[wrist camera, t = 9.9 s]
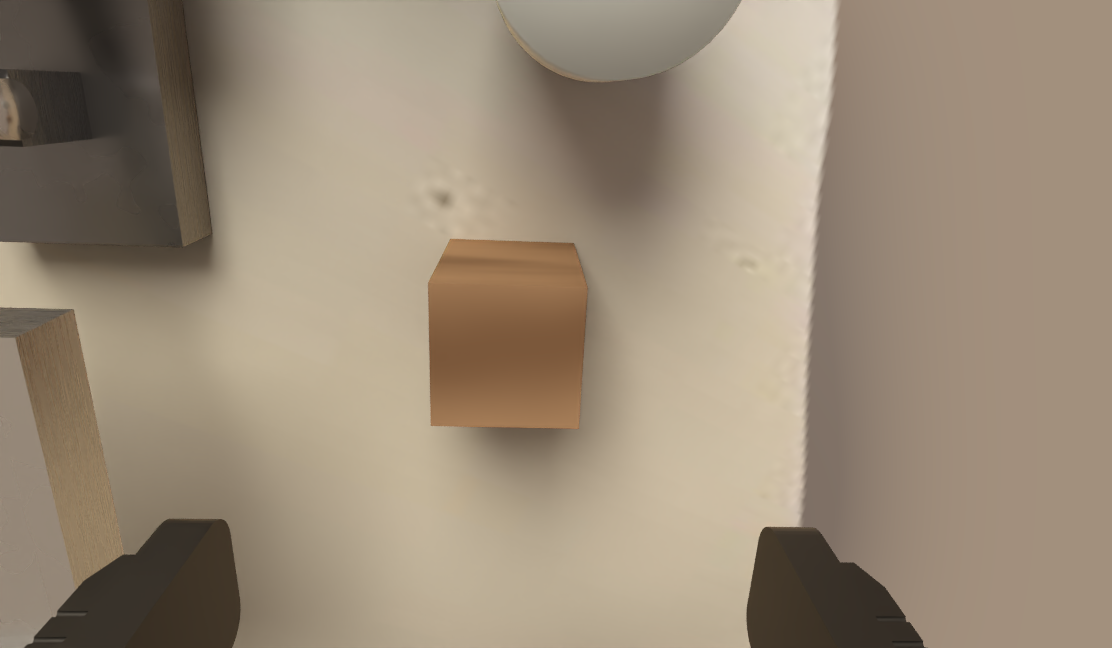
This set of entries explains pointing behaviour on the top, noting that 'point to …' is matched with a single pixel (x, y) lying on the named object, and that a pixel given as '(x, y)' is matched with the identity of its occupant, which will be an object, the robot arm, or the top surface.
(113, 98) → the balance
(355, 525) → the top surface
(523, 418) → the walnut block
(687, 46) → the white stepped cylinder
